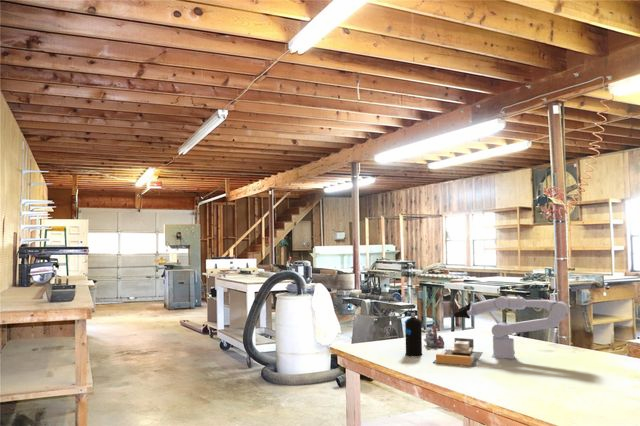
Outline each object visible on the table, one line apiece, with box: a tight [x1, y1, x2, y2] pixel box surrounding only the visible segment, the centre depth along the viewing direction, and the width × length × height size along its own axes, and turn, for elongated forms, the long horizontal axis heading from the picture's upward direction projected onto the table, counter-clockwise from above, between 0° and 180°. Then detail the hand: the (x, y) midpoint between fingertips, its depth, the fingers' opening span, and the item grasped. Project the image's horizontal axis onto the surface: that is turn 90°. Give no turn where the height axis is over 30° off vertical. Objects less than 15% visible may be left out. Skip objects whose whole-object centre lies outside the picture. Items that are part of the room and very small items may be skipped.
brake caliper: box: [423, 325, 445, 348], centre depth 261 cm, size 11×11×12 cm
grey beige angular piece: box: [450, 337, 475, 356], centre depth 244 cm, size 9×12×6 cm
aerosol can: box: [404, 312, 424, 357], centre depth 242 cm, size 8×8×20 cm
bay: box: [432, 348, 484, 368], centre depth 235 cm, size 18×31×4 cm, turn 155°
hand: (456, 313), depth 248 cm, fingers open, 7 cm apart
